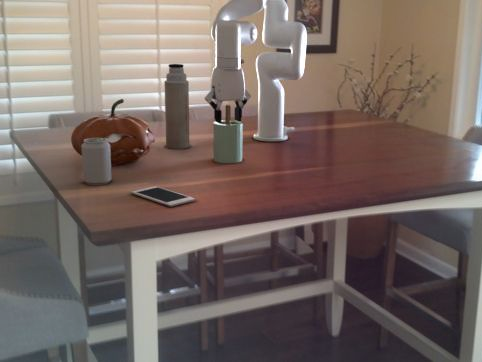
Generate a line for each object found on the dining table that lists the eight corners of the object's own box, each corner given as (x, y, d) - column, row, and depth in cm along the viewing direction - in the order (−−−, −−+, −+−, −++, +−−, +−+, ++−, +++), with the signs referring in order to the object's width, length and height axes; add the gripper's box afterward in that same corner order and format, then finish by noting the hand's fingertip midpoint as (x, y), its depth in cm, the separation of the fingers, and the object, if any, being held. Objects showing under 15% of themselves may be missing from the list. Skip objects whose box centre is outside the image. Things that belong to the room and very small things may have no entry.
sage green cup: (233, 155, 218) (234, 119, 215) (247, 161, 211) (247, 124, 208) (208, 158, 213) (208, 121, 210) (221, 164, 206) (221, 126, 203)
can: (86, 178, 186) (84, 136, 183) (114, 178, 186) (112, 136, 183) (80, 185, 179) (78, 141, 175) (109, 185, 179) (107, 142, 176)
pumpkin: (116, 175, 190) (113, 109, 185) (54, 163, 202) (50, 101, 197) (172, 159, 211) (171, 99, 206) (113, 149, 223) (110, 92, 218)
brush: (230, 156, 214) (230, 103, 210) (235, 159, 211) (235, 105, 207) (220, 157, 212) (220, 104, 208) (225, 160, 209) (225, 106, 205)
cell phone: (170, 207, 162) (170, 204, 162) (131, 193, 172) (131, 191, 172) (195, 200, 167) (195, 198, 167) (155, 188, 178) (155, 185, 178)
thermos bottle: (192, 144, 233) (191, 63, 226) (184, 149, 225) (183, 65, 218) (171, 143, 234) (169, 62, 227) (162, 147, 227) (160, 64, 220)
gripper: (247, 61, 212) (246, 117, 216) (197, 63, 203) (197, 121, 207) (258, 63, 206) (258, 121, 210) (207, 65, 197) (208, 125, 201)
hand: (228, 120), depth 209 cm, fingers open, 6 cm apart
